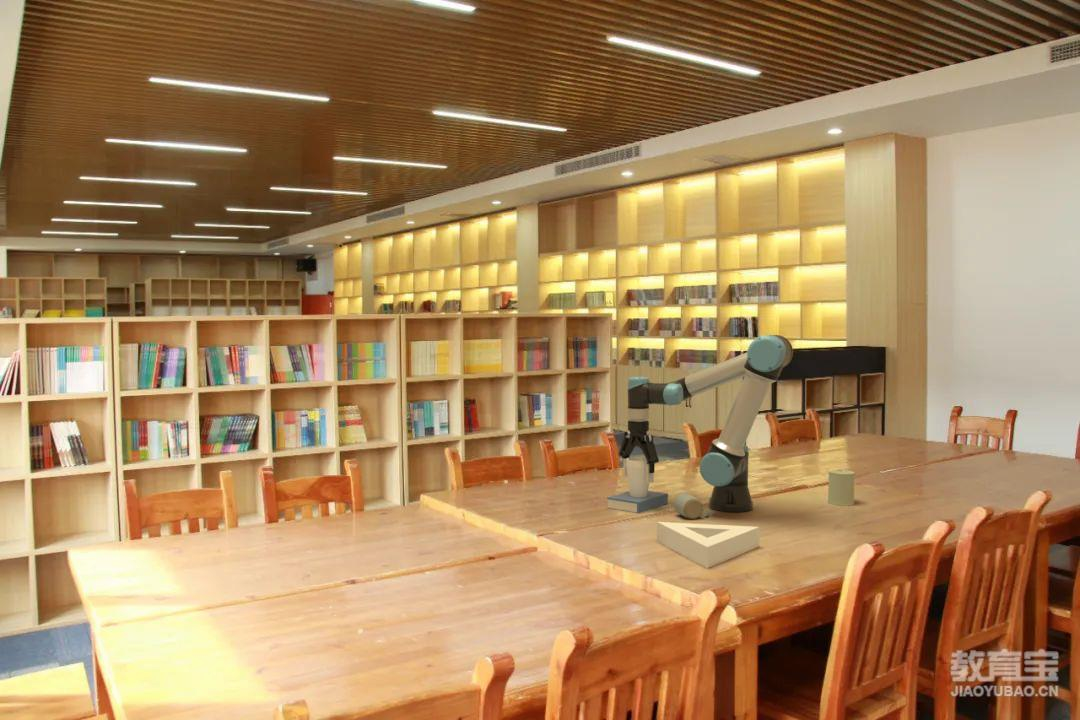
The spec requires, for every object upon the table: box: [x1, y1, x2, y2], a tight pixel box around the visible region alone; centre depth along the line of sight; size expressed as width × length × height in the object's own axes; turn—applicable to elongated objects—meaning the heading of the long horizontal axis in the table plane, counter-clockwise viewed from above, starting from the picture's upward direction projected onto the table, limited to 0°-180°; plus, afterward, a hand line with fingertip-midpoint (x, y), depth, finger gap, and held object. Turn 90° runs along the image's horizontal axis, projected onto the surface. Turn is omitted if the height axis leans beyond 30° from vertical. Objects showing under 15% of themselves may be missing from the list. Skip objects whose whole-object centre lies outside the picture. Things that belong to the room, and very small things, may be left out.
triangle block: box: [656, 521, 761, 569], centre depth 242 cm, size 30×26×6 cm
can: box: [827, 469, 856, 507], centre depth 307 cm, size 9×9×12 cm
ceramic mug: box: [673, 492, 709, 520], centre depth 284 cm, size 11×8×8 cm
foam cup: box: [626, 456, 650, 497], centre depth 300 cm, size 10×9×13 cm
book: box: [607, 490, 669, 514], centre depth 301 cm, size 13×20×4 cm, turn 141°
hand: (638, 479), depth 301 cm, fingers open, 13 cm apart
